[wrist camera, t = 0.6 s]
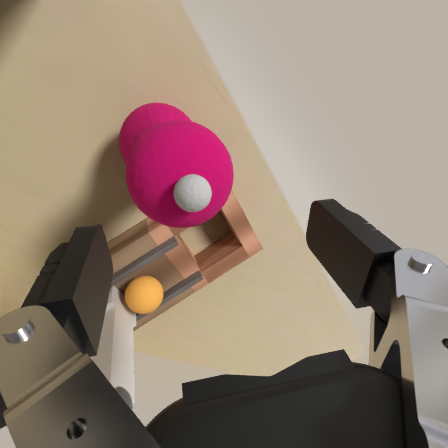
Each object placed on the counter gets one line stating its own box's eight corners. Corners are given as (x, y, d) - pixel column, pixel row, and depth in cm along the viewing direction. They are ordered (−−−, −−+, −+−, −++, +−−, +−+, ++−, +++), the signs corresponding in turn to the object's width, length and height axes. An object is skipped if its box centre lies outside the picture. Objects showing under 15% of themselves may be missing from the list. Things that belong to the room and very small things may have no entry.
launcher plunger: (92, 296, 30) (69, 431, 18) (116, 281, 30) (109, 405, 18) (117, 318, 32) (110, 452, 20) (139, 304, 32) (146, 429, 20)
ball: (117, 281, 30) (115, 305, 27) (148, 262, 31) (151, 283, 27) (138, 303, 32) (140, 328, 29) (168, 285, 33) (172, 307, 29)
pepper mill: (107, 149, 29) (76, 232, 11) (142, 86, 27) (166, 68, 10) (168, 183, 32) (217, 287, 15) (202, 128, 31) (299, 171, 13)
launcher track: (65, 268, 32) (54, 296, 28) (218, 174, 33) (232, 186, 29) (119, 318, 37) (117, 348, 33) (250, 234, 38) (267, 253, 34)
